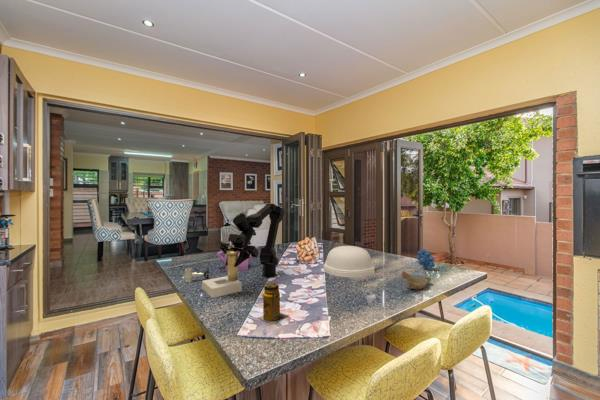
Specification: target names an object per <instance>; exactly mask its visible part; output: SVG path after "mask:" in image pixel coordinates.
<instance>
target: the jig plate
mask: <svg viewBox="0 0 600 400" xmlns="http://www.w3.org/2000/svg"><path fill="white" fill-rule="evenodd" d="M242 284H243V283H242V281H240V280H239V279H238V280H237V281H233V282H230V281H228V275H225V276H221V277H215V278H209V280H207V279H205V280H201V289H202V291H204V292H205V294H207V295H208V296H209V297H210V298H211V299H212V298H218V297H222V296H223V297H224V296H226V295H231V294H235V293H241V292H242V291H243V285H242Z"/></svg>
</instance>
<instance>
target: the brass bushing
mask: <svg viewBox="0 0 600 400" xmlns="http://www.w3.org/2000/svg"><path fill="white" fill-rule="evenodd" d="M238 253H239V250H228V251H226V254H228V271H227V276H228V281H230V282H233V281H237V280H238V281H239V271H238V266H237V267H235V263H236V261H237V259H238ZM226 254H225V255H226Z"/></svg>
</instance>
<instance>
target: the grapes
mask: <svg viewBox="0 0 600 400" xmlns="http://www.w3.org/2000/svg"><path fill="white" fill-rule="evenodd" d="M416 259H417V260H418V265H420V266H422V269H424V270H429V271H431V270H432V269H433V267H434V268H435V265H436V264H435V262H434V261H435V257H434V256H432V253H431V252H430V251H427V250H426V249H425V248H424V249H423V248H422V250H417V256H416Z"/></svg>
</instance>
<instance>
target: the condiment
mask: <svg viewBox="0 0 600 400" xmlns="http://www.w3.org/2000/svg"><path fill="white" fill-rule="evenodd" d="M279 288H280V287H279V284H277V283H267V284H265V285H264V290H263V291H264V292H263V295H262V297H263V298H262V299H263V303H262V305H263V307H262V311H263V313H262V314H263V315H262V316H260V317H258V319H260V320H262V321H264V322H266V323H269V324H271V325H273V324H275V323H277V322H279V321H281V320H283V319H285V318H287V317H289V315H288V314H286V313H285V314H284V313H282V312H281V293H280V289H279Z"/></svg>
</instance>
